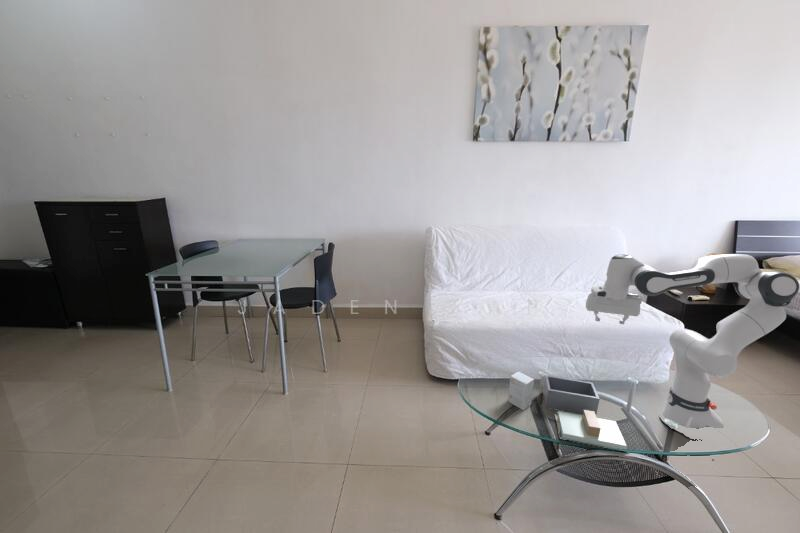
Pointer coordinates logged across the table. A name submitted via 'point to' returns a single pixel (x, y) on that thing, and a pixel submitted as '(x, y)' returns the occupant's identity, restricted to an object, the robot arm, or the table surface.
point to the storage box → (570, 395)
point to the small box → (520, 390)
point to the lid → (590, 429)
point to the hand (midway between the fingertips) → (609, 322)
